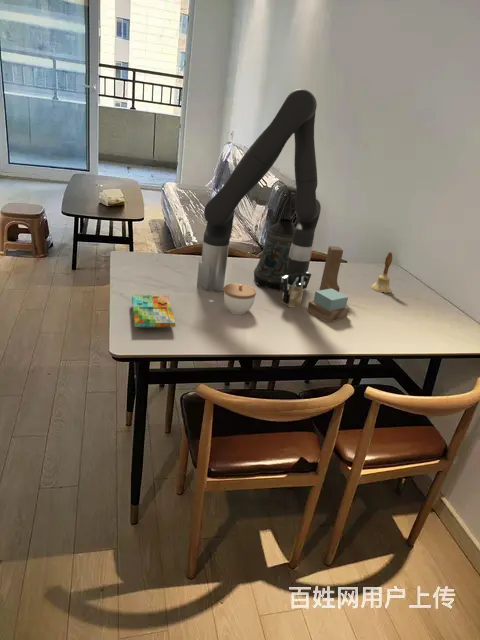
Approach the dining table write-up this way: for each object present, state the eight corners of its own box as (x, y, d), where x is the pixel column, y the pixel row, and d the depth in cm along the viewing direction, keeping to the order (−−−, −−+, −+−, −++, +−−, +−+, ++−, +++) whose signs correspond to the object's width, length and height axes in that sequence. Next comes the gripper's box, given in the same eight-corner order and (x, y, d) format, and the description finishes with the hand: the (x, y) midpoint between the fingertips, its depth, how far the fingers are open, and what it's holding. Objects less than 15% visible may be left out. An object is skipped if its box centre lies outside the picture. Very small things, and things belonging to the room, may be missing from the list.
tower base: (328, 323, 162) (330, 313, 160) (306, 311, 168) (308, 301, 166) (346, 317, 168) (349, 307, 166) (325, 306, 174) (327, 296, 172)
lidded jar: (237, 301, 168) (240, 276, 164) (259, 313, 161) (263, 287, 157) (214, 307, 160) (217, 282, 156) (236, 320, 154) (240, 293, 150)
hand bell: (384, 294, 192) (394, 257, 185) (367, 287, 198) (376, 250, 191) (395, 291, 198) (405, 254, 191) (378, 283, 203) (388, 248, 196)
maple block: (290, 307, 169) (293, 292, 166) (281, 302, 172) (283, 286, 169) (300, 305, 172) (303, 289, 169) (290, 299, 175) (293, 284, 172)
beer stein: (247, 283, 184) (256, 220, 173) (262, 269, 201) (271, 210, 190) (287, 293, 180) (299, 229, 169) (300, 278, 197) (311, 219, 186)
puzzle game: (168, 292, 156) (175, 320, 139) (167, 305, 158) (174, 334, 141) (132, 292, 153) (134, 320, 136) (131, 305, 155) (134, 334, 138)
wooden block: (337, 299, 181) (348, 254, 173) (326, 298, 180) (336, 253, 173) (329, 289, 189) (339, 246, 181) (319, 289, 188) (328, 245, 180)
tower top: (329, 311, 161) (331, 300, 159) (313, 301, 167) (315, 291, 165) (345, 307, 166) (348, 297, 164) (329, 298, 171) (331, 288, 169)
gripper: (305, 251, 171) (297, 294, 178) (277, 255, 162) (269, 300, 169) (321, 257, 166) (312, 301, 173) (292, 262, 157) (284, 309, 165)
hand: (291, 301), depth 171 cm, fingers closed on maple block, 5 cm apart
